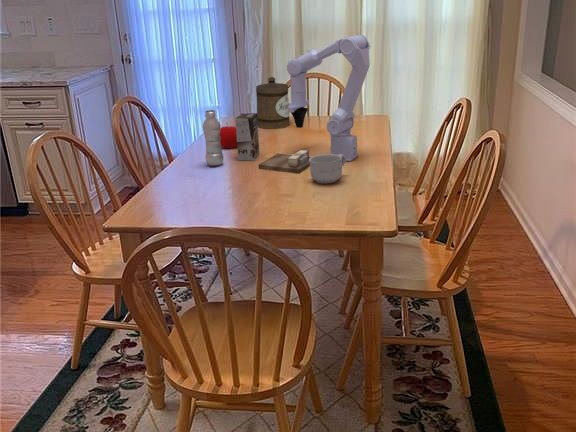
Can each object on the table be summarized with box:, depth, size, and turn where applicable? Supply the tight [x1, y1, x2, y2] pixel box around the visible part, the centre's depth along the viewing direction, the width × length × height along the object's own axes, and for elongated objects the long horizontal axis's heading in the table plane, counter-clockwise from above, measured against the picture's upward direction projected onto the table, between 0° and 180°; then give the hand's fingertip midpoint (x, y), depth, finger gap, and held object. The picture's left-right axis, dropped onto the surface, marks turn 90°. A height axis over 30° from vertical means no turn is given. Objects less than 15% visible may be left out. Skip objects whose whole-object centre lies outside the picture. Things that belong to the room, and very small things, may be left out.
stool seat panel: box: [258, 153, 312, 174], centre depth 205 cm, size 16×15×4 cm
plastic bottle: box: [202, 109, 224, 167], centre depth 206 cm, size 6×7×20 cm
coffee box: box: [235, 112, 261, 162], centre depth 214 cm, size 9×6×16 cm
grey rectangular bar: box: [288, 148, 310, 167], centre depth 203 cm, size 12×3×3 cm, turn 154°
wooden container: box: [255, 76, 290, 130], centre depth 260 cm, size 15×15×22 cm
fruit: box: [220, 122, 237, 149], centre depth 230 cm, size 9×9×10 cm
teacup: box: [309, 153, 347, 184], centre depth 188 cm, size 14×11×8 cm
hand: (299, 127), depth 219 cm, fingers closed
